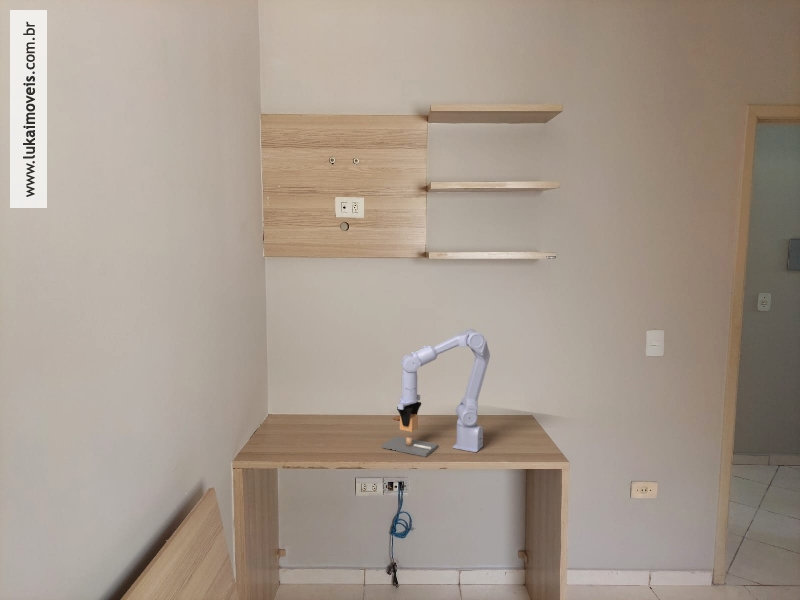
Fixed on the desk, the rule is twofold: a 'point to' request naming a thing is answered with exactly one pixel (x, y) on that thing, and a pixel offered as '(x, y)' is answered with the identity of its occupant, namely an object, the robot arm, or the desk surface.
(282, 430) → the desk surface
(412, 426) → the orange cube
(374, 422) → the desk surface
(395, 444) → the plate
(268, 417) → the desk surface
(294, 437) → the desk surface
